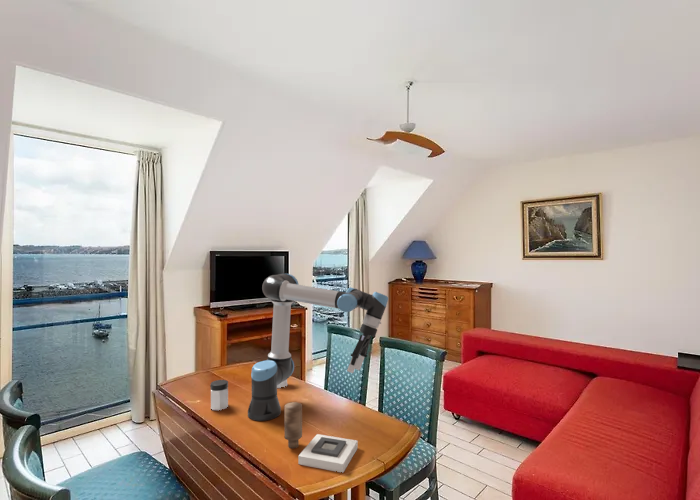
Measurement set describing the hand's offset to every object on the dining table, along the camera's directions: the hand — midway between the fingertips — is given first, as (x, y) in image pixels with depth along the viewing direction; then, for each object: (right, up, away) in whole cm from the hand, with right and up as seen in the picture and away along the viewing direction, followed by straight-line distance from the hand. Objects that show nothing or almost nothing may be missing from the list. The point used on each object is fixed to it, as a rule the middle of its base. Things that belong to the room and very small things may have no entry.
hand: (353, 370), depth 172 cm
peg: (-24, -23, -22) cm, 39 cm away
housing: (-9, -23, -29) cm, 38 cm away
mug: (-42, -22, +43) cm, 65 cm away
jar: (-65, -23, +15) cm, 71 cm away
